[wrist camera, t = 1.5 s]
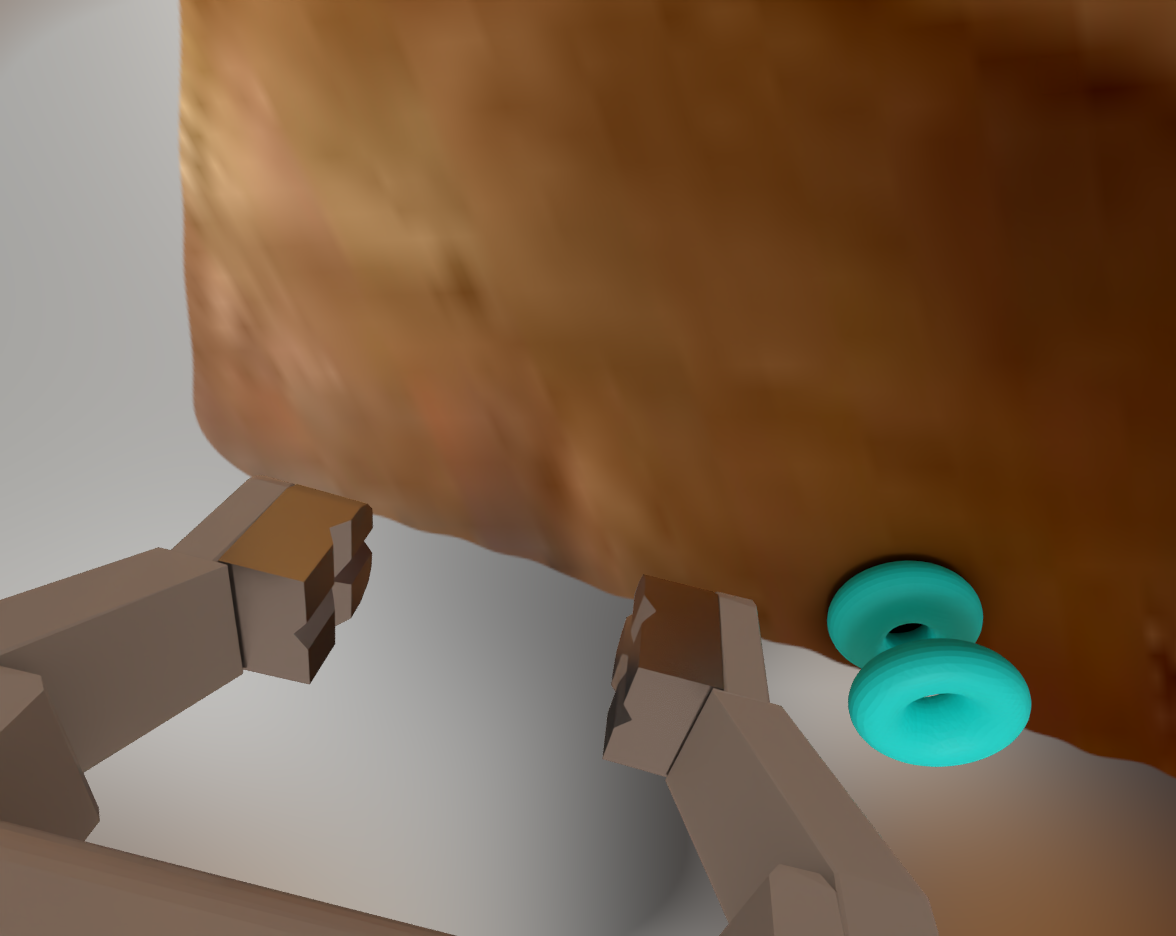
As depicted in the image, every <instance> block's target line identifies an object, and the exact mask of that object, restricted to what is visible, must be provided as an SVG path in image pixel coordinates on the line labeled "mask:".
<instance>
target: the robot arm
mask: <svg viewBox="0 0 1176 936" xmlns="http://www.w3.org/2000/svg"><path fill="white" fill-rule="evenodd" d="M372 517H373V515H372V508H371V507H370V506H369V505H368V504H366V503H363V502H359V501H356V500H352V499H348V498H345V497H341V496H338V495H334V494H331V493H327V492H323V491H320V490H316V489H313V488H309V487H306V486H302V485H298V484H297V485H295V484H292V483H288V482H285V481H281V480H278V479H274V478H271V477H267V476H264V475H259V476H255V477H251V478H249V479H248V480H247V481H246V482H245V483H244V484H243V485H241V486H240V487H239V488H238V489H237V490H236V491H235V492H234V493H233V494H232V495H230V496H229V497H228V498H227V499H226V500H225V501H224V502H223V503H222V504H221V505H220V506H218V507H217V508H216V509H215V510H214V511H213V512H212V513H211V514H210V515H209V516H208V517H206V518H205V519H204V520H203V521H202V522H201V523H200V524H199V525H198V526H197V527H196V528H194V529H193V530H192V531H191V532H190V533H189V534H188V535H187V536H186V537H185V538H184V539H182V540H181V541H180V542H179V543H178V544H177V545H176V546H175V547H174V548H173V549H171V550H168V549H163V548H159V547H158V548H155V549H153V550H149V551H146V552H143V553H140V554H137V555H134V556H131V557H128V558H125V559H122V560H119V561H116V562H113V563H110V564H107V565H104V566H101V567H98V568H95V569H92V570H89V571H86V572H83V573H80V574H77V575H74V576H71V577H68V578H65V579H62V580H59V581H56V582H53V583H50V584H47V585H44V586H41V587H38V588H35V589H32V590H29V591H26V592H23V593H20V594H17V595H14V596H11V597H8V598H5V599H2V600H0V936H455V935H451V934H447V933H444V932H440V931H436V930H432V929H427V928H424V927H419V926H415V925H412V924H408V923H404V922H400V921H396V920H392V919H388V918H384V917H381V916H377V915H372V914H369V913H364V912H361V911H357V910H353V909H349V908H345V907H341V906H337V905H333V904H329V903H325V902H321V901H317V900H314V899H309V898H306V897H302V896H297V895H294V894H290V893H286V892H282V891H278V890H274V889H270V888H266V887H262V886H258V885H255V884H251V883H247V882H243V881H239V880H235V879H231V878H226V877H223V876H219V875H215V874H211V873H207V872H203V871H199V870H195V869H191V868H188V867H184V866H180V865H175V864H172V863H167V862H164V861H160V860H156V859H152V858H148V857H144V856H140V855H136V854H132V853H128V852H124V851H120V850H117V849H113V848H109V847H104V846H101V845H96V844H93V843H89V842H85V839H86V838H87V837H88V836H89V834H90V833H91V832H92V830H93V829H94V828H95V826H96V825H97V824H98V823H99V821H100V818H99V807H98V805H97V803H96V800H95V799H94V796H93V794H92V791H91V789H90V787H89V784H88V782H87V780H86V778H85V775H84V772H85V771H87V770H89V769H90V768H92V767H93V766H95V765H97V764H98V763H99V762H101V761H103V760H105V759H106V758H108V757H109V756H111V755H113V754H114V753H116V752H118V751H119V750H121V749H122V748H124V747H126V746H127V745H129V744H130V743H132V742H134V741H135V740H137V739H138V738H140V737H142V736H143V735H145V734H147V733H148V732H150V731H151V730H153V729H154V728H156V727H158V726H159V725H161V724H163V723H164V722H166V721H167V720H169V719H171V718H172V717H174V716H175V715H177V714H179V713H180V712H182V711H184V710H185V709H187V708H188V707H190V706H192V705H193V704H195V703H196V702H198V701H200V700H201V699H203V698H204V697H206V696H208V695H209V694H211V693H213V692H214V691H216V690H217V689H219V688H221V687H222V686H224V685H225V684H227V683H228V682H230V681H232V680H233V679H235V678H237V677H238V676H240V675H242V674H243V670H248V671H252V672H257V673H261V674H266V675H270V676H275V677H279V678H283V679H288V680H292V681H297V682H301V683H306V684H310V683H311V682H312V680H313V678H314V677H315V675H316V674H317V672H318V670H319V669H320V667H321V666H322V664H323V663H324V661H325V659H326V658H327V656H328V654H329V653H330V651H331V650H332V648H333V647H334V645H335V626H337V625H339V624H341V623H342V622H345V621H347V620H348V619H350V618H351V617H352V616H353V614H354V612H355V611H356V609H357V607H358V605H359V604H360V602H361V600H362V597H363V594H364V592H365V589H366V587H367V584H368V581H369V576H370V571H371V564H372V552H371V551H370V549H369V548H368V546H367V545H366V543H365V542H364V540H365V539H366V537H367V536H368V534H369V533H370V531H371V530H372V528H373V518H372ZM611 685H612V687H613V689H614V690H615V694H614V697H613V700H612V702H611V705H610V708H609V711H608V714H607V722H606V731H605V740H604V748H603V758H602V759H605V760H608V761H612V762H615V763H619V764H622V765H626V766H629V767H633V768H636V769H640V770H643V771H647V772H650V773H654V774H657V775H661V776H665V777H667V778H666V783H667V785H668V787H669V789H670V792H671V794H672V796H673V798H674V801H675V803H676V805H677V807H678V809H679V812H680V814H681V817H682V819H683V821H684V823H685V826H686V828H687V830H688V832H689V835H690V837H691V839H692V841H693V844H694V846H695V848H696V850H697V853H698V855H699V857H700V859H701V862H702V864H703V866H704V868H705V871H706V873H707V875H708V877H709V880H710V882H711V884H712V886H713V889H714V891H715V893H716V896H717V898H718V900H719V902H720V905H721V907H722V909H723V911H724V914H725V916H726V918H727V920H728V923H729V924H728V925H727V927H726V928H725V929H724V930H723V932H722V933H721V934H720V935H719V936H939V934H938V930H937V927H936V923H935V920H934V916H933V913H932V909H931V906H930V903H929V899H928V898H927V896H926V895H925V894H924V892H923V891H922V890H921V888H920V887H919V886H918V884H917V883H916V882H915V881H914V879H913V878H912V876H911V875H910V874H909V873H908V871H907V870H906V869H905V867H904V866H903V865H902V863H901V862H900V861H899V859H898V858H897V857H896V856H895V854H894V853H893V852H892V850H891V849H890V848H889V846H888V845H887V844H886V842H885V841H884V840H883V839H882V837H881V836H880V835H879V833H878V832H877V831H876V829H875V828H874V827H873V825H872V824H871V823H870V821H869V820H868V819H867V818H866V816H865V815H864V814H863V812H862V811H861V810H860V809H859V807H858V806H857V804H856V803H855V802H854V800H853V799H852V798H851V797H850V795H849V794H848V793H847V791H846V790H845V789H844V787H843V786H842V785H841V784H840V782H839V781H838V779H837V778H836V777H835V776H834V774H833V773H832V772H831V770H830V769H829V768H828V767H827V765H826V764H825V762H824V761H823V760H822V759H821V757H820V756H819V755H818V753H817V752H816V751H815V749H814V748H813V747H812V745H811V744H810V743H809V741H808V740H807V739H806V738H805V737H804V735H803V734H802V732H801V731H800V730H799V729H798V727H797V726H796V725H795V723H794V722H793V721H792V719H791V718H790V717H789V715H788V714H787V713H786V711H785V710H784V709H783V707H782V706H779V705H776V704H772V703H770V701H769V694H768V686H767V679H766V672H765V665H764V658H763V650H762V643H761V636H760V628H759V621H758V614H757V607H756V605H755V603H754V602H753V600H750V599H746V598H741V597H737V596H733V595H729V594H724V593H720V592H715V593H714V592H713V591H709V590H705V589H701V588H697V587H693V586H689V585H685V584H681V583H677V582H673V581H669V580H665V579H661V578H657V577H653V576H649V575H645V574H643V576H642V578H641V580H640V581H639V584H638V587H637V590H636V592H635V595H634V605H633V613H632V615H630V616H628V617H626V620H625V623H624V627H623V630H622V633H621V637H620V640H619V644H618V647H617V651H616V656H615V662H614V668H613V674H612V682H611Z"/></svg>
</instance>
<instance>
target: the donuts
mask: <svg viewBox="0 0 1176 936" xmlns="http://www.w3.org/2000/svg"><path fill="white" fill-rule="evenodd" d="M908 623H919V624H923V625H922V626H920V627H918V628H916V629H914V630H912V631H908V632H904V633H889V632H890V631H891V630H892V629H893V628H895V627H897V626H900V625H903V624H908ZM982 623H983V611H982V606H981V602H980V600H979V597H978V596H977V594H976V592H975V591H974V589H973V588H972V587H971V585H970V584H969V583H968V582H967V581H966V580H964V579H963V578H962V577H961V576H959V575H958V574H956V573H955V572H953V571H951V570H949V569H947V568H945V567H942V566H939V565H936V564H933V563H929V562H923V561H895V562H889V563H884V564H880V565H877V566H874V567H871V568H869V569H866V570H864V571H862V572H860V573H858V574H857V575H855V576H854V577H852V578H851V579H849V580H848V581H847V582H846V583H845V584H844V585H843V586H842V587H841V588H840V589H839V590H838V591H837V593H836V594H835V596H834V598H833V600H832V601H831V604H830V606H829V610H828V616H827V626H828V631H829V635H830V637H831V640H832V642H833V643H834V645H835V647H836V648H837V650H838V651H839V652H840V653H841V654H842V655H843V656H844V657H845V658H846V659H847V660H849V661H850V662H851V663H853V664H854V665H856V666H858V667H860V668H862V669H861V670H860V671H859V673H858V674H857V676H856V677H855V679H854V681H853V683H852V685H851V689H850V692H849V697H848V708H849V713H850V717H851V720H852V723H853V725H854V727H855V728H856V730H857V732H858V733H859V735H860V736H861V737H862V738H863V739H864V740H865V741H866V742H867V743H868V744H869V745H870V746H871V747H873V748H874V749H876V750H877V751H879V752H880V753H882V754H884V755H886V756H888V757H890V758H893V759H895V760H898V761H901V762H904V763H909V764H913V765H920V766H931V767H941V766H942V767H943V766H954V765H962V764H967V763H971V762H974V761H978V760H981V759H984V758H986V757H989V756H991V755H993V754H995V753H997V752H999V751H1001V750H1002V749H1004V748H1005V747H1007V746H1008V745H1009V744H1011V743H1012V742H1013V741H1014V740H1015V739H1016V738H1017V737H1018V736H1019V734H1020V733H1021V732H1022V730H1023V729H1024V727H1025V726H1026V724H1027V722H1028V719H1029V716H1030V711H1031V697H1030V692H1029V689H1028V686H1027V684H1026V682H1025V680H1024V678H1023V677H1022V675H1021V674H1020V672H1019V671H1018V670H1017V669H1016V668H1015V667H1014V666H1013V665H1012V664H1011V663H1010V662H1009V661H1008V660H1007V659H1005V658H1004V657H1002V656H1001V655H999V654H998V653H996V652H995V651H993V650H991V649H989V648H986V647H984V646H981V645H978V644H975V642H976V640H977V639H978V637H979V635H980V632H981V629H982ZM934 694H938V695H935V696H931V697H926V696H929V695H934Z"/></svg>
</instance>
